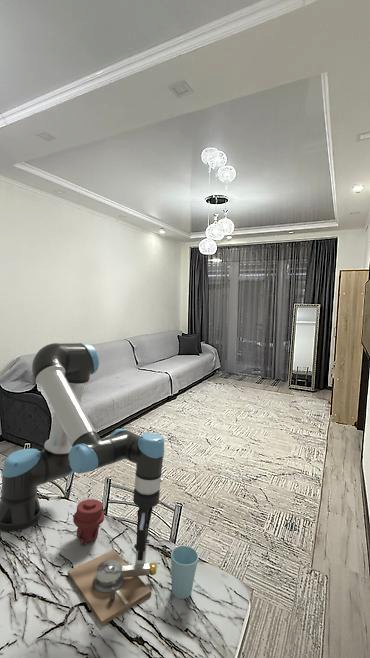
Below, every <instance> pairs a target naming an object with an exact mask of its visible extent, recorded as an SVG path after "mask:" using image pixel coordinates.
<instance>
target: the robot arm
mask: <svg viewBox="0 0 370 658" xmlns="http://www.w3.org/2000/svg"><path fill="white" fill-rule="evenodd" d="M99 365H100V358H99V354H98V352H97V350H96V348H95V346H93V345H91V344H89V343H81V342H77V343H76V342H75V343H70V342H69V343H65V342H64V343H58V342H57V343H55V342H54V343H49V344H47V345H45V346H43V347H42V348H40V349H39V350H38V351H37V353H36V354H35V356H34V357H33V360H32V365H31V371H32V376H33V379H34V382H35V383H36V385H37V386H38V387H42V389H43V391H44V393H45V395H46V398H47V399H48V402H49V403H50V405H51V407H52V409H53V411H54V415H53V419H52V425H51V428H50V429H51V430H50V435H49V439H47V440H46V441H45V442H44V446H43V450H38V449H37V448H23V449H19V450H17V451H16V450H15V451H13V452H12V453H10V454H8V455H7V457H6V458H5V459H4V461H3V467H2V471H1V474H2V475H1V476H2V477H1V487H0V488H1V490H0V531H2V532H10V533H11V532H18V531H22V530H25V529H28V528H30V527H31V526H33V525H35V524H36V523H38V521H39V520H40V517H41V515H42V513H41V512H42V508H41V504H40V501H39V500H40V499H39V497H38V486H41V485H45V484H47V483H51V482H53V481H56V480H59V479H62V478H66V477H68V476H70V475H72V474H74V473H76V474H79V475H80V474H85V473H89V472H93V471H95V470H97V469H99V468H102V467H105V466H108V465H112V464H115V463H118V462H121V461H124V460H128V461H129V462H130V463H133V464H135V465H136V466H135V476H134V486H133V487H134V489H133V497H132V498H133V499H132V500H133V503H134V505H135V506H137V507H138V509H137V514H136V515H137V524H136V542H135V544H134V547H133V548H134V549H135V551H136V553H135V561H134V565H139V564H146V559H147V558H146V555H147V546H148V545H149V544H150V541H151V540H150V539H148V537H149V530H150V529H149V528H150V524H151V523H150V522H151V519H152V513H153V508H154V507H157V505H158V504H159V502H160V494H161V493H160V492H161V491H160V490H161V483H163V482H164V478H163V477H162V470H163V461H164V455H165V439H164V436H163V435H162V434H161V435H160V434H158V433H154V432H145V433H142V434H141V435H138V434H136V433H134V432H132V431H130V430H128V429H123V428H117V429H115V430H114V431H113V432H111V433H110V435H109V436H107V437H103V438H101V437H100V436H99V434H98V432H97V431H96V429H95V428H94V425H93V424H92V421H91V420H90V418H89V416H88V415H87V412H86V411H85V409H84V408H83V406H82V404H81V401H82V395H83V391H84V388H85V387H84V386H85V385H86V384H88V383H89V381H90V376H91V375H94V374H95V373H96V372H97V371H98V369H99V367H100V366H99ZM147 544H148V545H147Z"/></svg>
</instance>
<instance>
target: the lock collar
mask: <svg viewBox="0 0 370 658" xmlns="http://www.w3.org/2000/svg"><path fill="white" fill-rule="evenodd" d="M127 565H128V566H122V565H121V564H120V563H119V562H118V561H116V560H106V561H103V562H102V563H100V564H99V565H98V567H97V574H96V582H97V584H98V585H99V586H101V587H103V588H112V587H114V586H116V585H118V584H119V583H120V581H121V578H125V577H135V576H138V577H144V576H154V575H156V574H157V568H158V567H157V563H155V562H150V563H145V564H139V565H135V564H130V565H129V564H127Z"/></svg>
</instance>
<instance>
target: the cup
mask: <svg viewBox="0 0 370 658" xmlns="http://www.w3.org/2000/svg"><path fill="white" fill-rule="evenodd" d="M170 559H171V560H170V562H171V564H170V565H171V566H170V567H171V568H170V569H171V593H172V595H173V596H174V597H175V598H177V599H179V600H180V599H181V600H184V599H185V600H186V599H189V597H190V596H191V594H192V591H193V585H194V581H195V575H196V571H197V565H198V561H199V553H198V552H197V550H196V549H195V548H193V547H191V546H188V545H177V546H176V547H174V548H173V549H172V551H171V553H170Z"/></svg>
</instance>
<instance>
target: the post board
mask: <svg viewBox="0 0 370 658" xmlns="http://www.w3.org/2000/svg"><path fill="white" fill-rule="evenodd" d="M106 560H116V561H118V562H119V563H120V564H121V565H122V566H128V565H129V564H128V563H127V562H126V561H125V560H124V559H123V558H122V557H121V556H120V555H119V553H117V551H115V549H112V550H110V551H108V552H105V553H103V554H101V555H99V556H97V557H95V558H92V559H90V560H88V561H86V562H84V563H82V564H80V565H78V566H75V567H73V568H71V569H69V570H67V576H68V578H69V579H70V582H71V583H72V584H73V586H74V587H75V589H76V590H77V591H78V593H79V594H80V596H81V598H82V599H83V601H84V602H85V604H86V605H87V607H88V609H90V611H91V613H92V614H93V615H94V616H95V619H96V620H97V621H98V624H99V625H100V626H101V627H104V626H105V625H106V624H108V623H110V622H111V621H113V620H114V619H116V618H117V617H118V616H120V615H122V614H124V613H126V612H127V611H128V610H130V609H132V608H133V607H135V606H136V605H138V604H140V603H141V602H143V601H144V600H145V599H147V598H149V597H150V596H152V590H151V589H150V588H149V587H148V586H147V585H146V583H145V582H144V581H143V580H142V579H141V578H140V576H135V577H125V578H121V581H120V583H119V584H118V585H116V586H114V587H112V588H103V587H101V586H99V585H98V584H97V582H96V574H97V567H98V565H99V564H100V563H102V562H103V561H106Z"/></svg>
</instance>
